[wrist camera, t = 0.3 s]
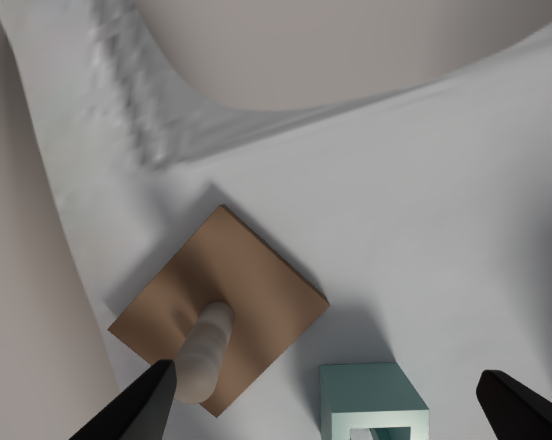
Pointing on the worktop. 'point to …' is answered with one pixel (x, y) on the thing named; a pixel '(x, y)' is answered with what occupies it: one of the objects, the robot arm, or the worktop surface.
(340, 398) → the collar
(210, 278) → the board
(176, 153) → the worktop surface
